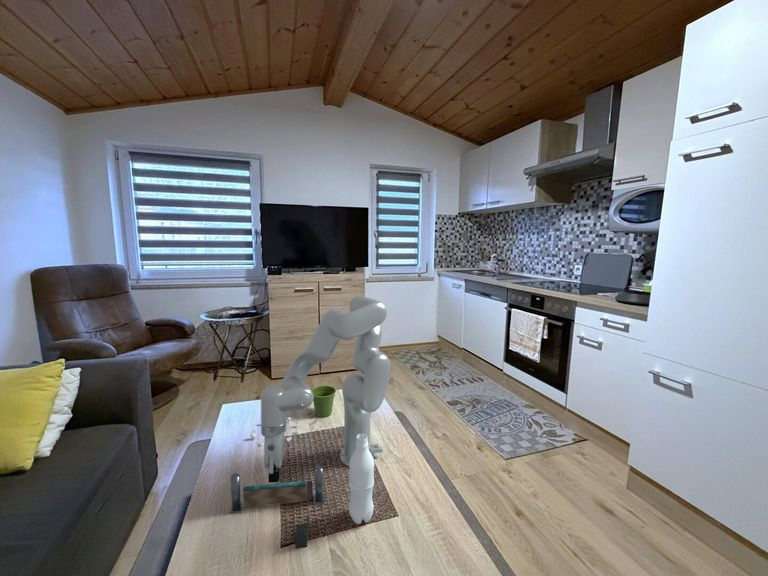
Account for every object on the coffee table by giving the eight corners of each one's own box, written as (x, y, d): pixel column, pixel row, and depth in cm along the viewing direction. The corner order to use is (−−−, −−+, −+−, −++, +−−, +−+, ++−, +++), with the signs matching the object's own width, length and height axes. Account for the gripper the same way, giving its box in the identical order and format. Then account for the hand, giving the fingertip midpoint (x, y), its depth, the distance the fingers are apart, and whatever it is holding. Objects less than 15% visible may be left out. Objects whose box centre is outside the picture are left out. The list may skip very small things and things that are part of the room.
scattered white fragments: (248, 452, 123) (248, 442, 122) (253, 424, 142) (253, 415, 141) (301, 444, 128) (301, 435, 128) (299, 418, 147) (299, 410, 147)
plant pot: (309, 409, 155) (309, 386, 153) (334, 406, 158) (334, 384, 157) (311, 422, 144) (311, 398, 142) (338, 418, 147) (338, 395, 146)
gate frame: (324, 495, 102) (324, 464, 100) (323, 544, 85) (323, 508, 84) (232, 505, 97) (231, 472, 96) (212, 559, 81) (210, 520, 79)
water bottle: (360, 503, 99) (361, 426, 96) (378, 515, 95) (380, 435, 91) (343, 517, 94) (343, 437, 90) (361, 532, 89) (362, 447, 86)
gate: (312, 496, 100) (312, 478, 100) (312, 500, 99) (312, 482, 98) (245, 503, 97) (244, 485, 96) (243, 507, 96) (242, 489, 95)
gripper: (283, 439, 95) (282, 497, 97) (289, 413, 109) (289, 464, 111) (255, 441, 93) (256, 499, 95) (266, 414, 108) (266, 466, 110)
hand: (274, 480), depth 103 cm, fingers closed
